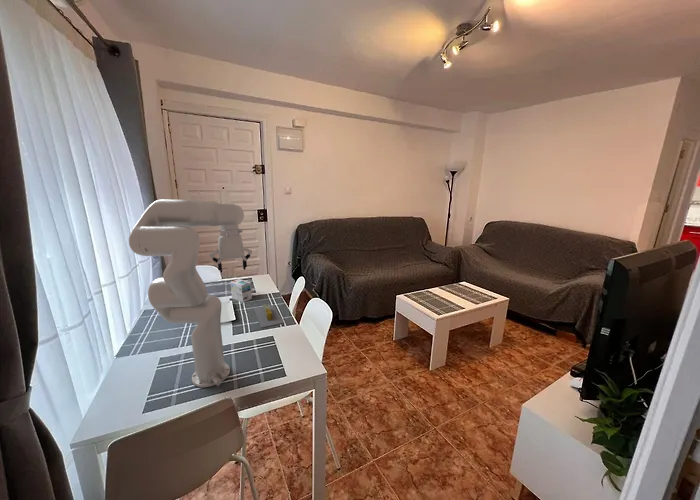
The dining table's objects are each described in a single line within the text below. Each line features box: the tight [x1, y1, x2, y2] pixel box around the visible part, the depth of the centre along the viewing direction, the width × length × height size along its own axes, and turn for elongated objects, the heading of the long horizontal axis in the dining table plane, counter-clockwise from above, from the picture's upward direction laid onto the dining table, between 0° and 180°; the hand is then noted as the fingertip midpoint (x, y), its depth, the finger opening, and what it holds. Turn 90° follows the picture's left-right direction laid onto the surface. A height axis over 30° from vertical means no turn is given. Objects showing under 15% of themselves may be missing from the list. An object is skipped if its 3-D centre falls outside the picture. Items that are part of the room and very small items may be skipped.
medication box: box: [262, 303, 273, 321], centre depth 146 cm, size 12×3×4 cm, turn 27°
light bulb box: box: [230, 278, 253, 303], centre depth 166 cm, size 11×7×11 cm, turn 58°
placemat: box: [253, 304, 284, 329], centre depth 147 cm, size 22×11×1 cm, turn 27°
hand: (233, 270), depth 125 cm, fingers open, 9 cm apart
